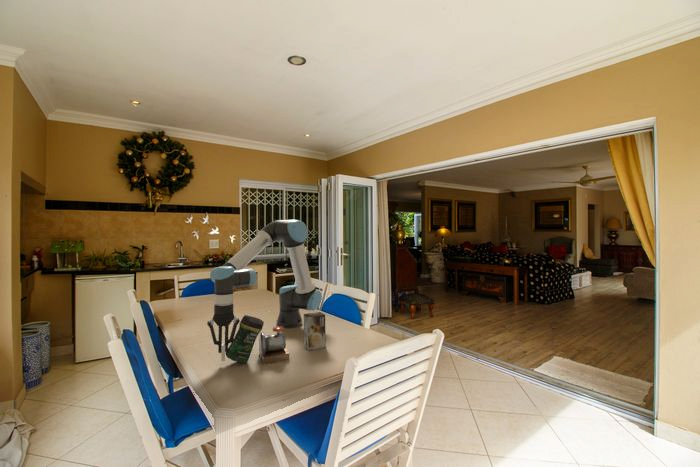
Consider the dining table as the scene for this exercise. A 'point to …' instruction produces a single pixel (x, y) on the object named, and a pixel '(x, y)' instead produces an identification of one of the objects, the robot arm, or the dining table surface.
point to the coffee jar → (244, 339)
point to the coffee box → (314, 331)
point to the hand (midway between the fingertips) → (222, 359)
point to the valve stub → (273, 347)
